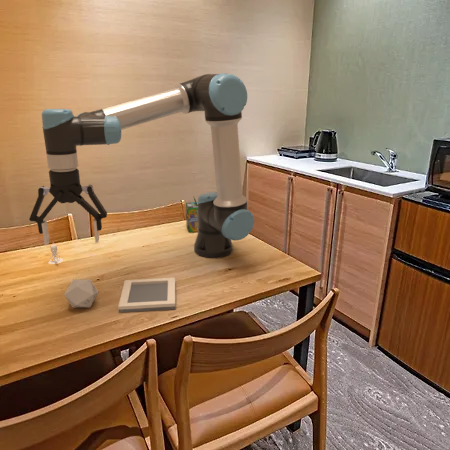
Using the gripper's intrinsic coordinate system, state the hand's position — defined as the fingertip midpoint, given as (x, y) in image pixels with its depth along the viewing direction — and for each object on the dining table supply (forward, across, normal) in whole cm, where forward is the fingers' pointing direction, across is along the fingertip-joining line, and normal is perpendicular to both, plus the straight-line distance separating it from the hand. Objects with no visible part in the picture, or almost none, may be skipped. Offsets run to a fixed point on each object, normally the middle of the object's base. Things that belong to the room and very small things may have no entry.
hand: (72, 242), depth 112 cm
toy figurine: (+19, +12, -29) cm, 36 cm away
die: (+19, -2, +4) cm, 19 cm away
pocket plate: (+18, -21, +3) cm, 28 cm away
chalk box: (+18, -44, -54) cm, 72 cm away
